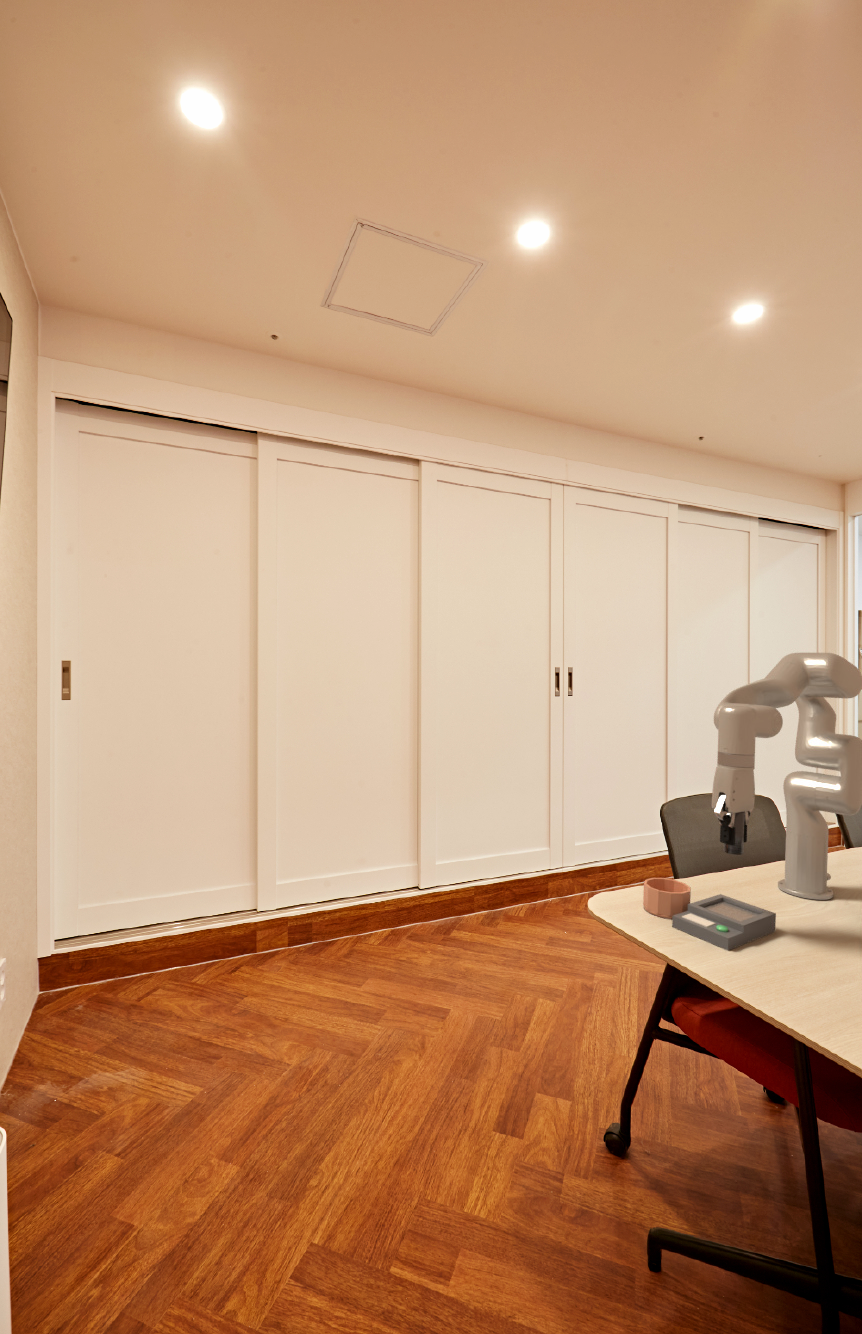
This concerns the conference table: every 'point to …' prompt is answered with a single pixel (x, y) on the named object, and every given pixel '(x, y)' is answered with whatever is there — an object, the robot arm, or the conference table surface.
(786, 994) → the conference table surface
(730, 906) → the pad
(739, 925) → the grey button console
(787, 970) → the conference table surface
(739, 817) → the battery
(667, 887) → the cup
